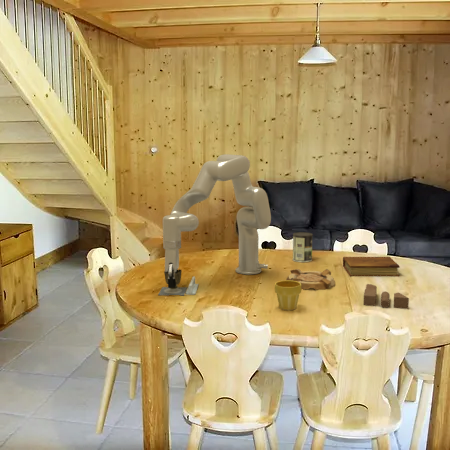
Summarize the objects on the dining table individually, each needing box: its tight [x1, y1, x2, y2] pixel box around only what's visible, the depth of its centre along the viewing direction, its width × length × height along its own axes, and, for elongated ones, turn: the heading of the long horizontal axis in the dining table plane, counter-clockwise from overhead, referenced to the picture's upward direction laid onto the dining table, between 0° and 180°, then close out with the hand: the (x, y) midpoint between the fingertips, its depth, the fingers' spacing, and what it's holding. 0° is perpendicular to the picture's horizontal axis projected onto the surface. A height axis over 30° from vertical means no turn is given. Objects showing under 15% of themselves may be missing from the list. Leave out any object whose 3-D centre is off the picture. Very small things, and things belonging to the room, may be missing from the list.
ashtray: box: [286, 268, 336, 291], centre depth 250 cm, size 24×24×5 cm
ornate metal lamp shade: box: [163, 268, 182, 289], centre depth 237 cm, size 8×7×8 cm
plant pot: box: [274, 280, 302, 311], centre depth 216 cm, size 10×10×10 cm
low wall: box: [185, 276, 199, 296], centre depth 240 cm, size 4×14×4 cm, turn 177°
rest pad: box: [157, 286, 188, 297], centre depth 238 cm, size 11×11×1 cm
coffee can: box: [292, 231, 314, 263], centre depth 290 cm, size 10×10×14 cm
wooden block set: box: [362, 283, 410, 310], centre depth 224 cm, size 17×6×18 cm
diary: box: [342, 256, 400, 278], centre depth 269 cm, size 23×19×6 cm
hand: (173, 284), depth 237 cm, fingers closed on ornate metal lamp shade, 6 cm apart
